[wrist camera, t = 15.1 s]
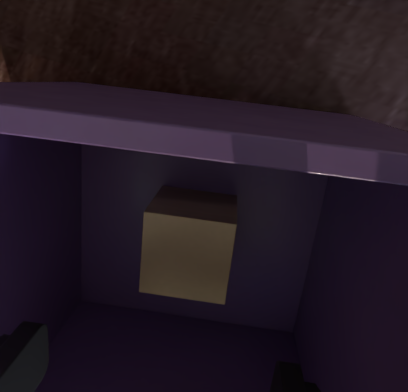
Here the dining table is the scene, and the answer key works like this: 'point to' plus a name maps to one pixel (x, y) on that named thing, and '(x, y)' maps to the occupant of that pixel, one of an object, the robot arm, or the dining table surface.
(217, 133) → the box
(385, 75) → the dining table surface
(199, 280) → the block
